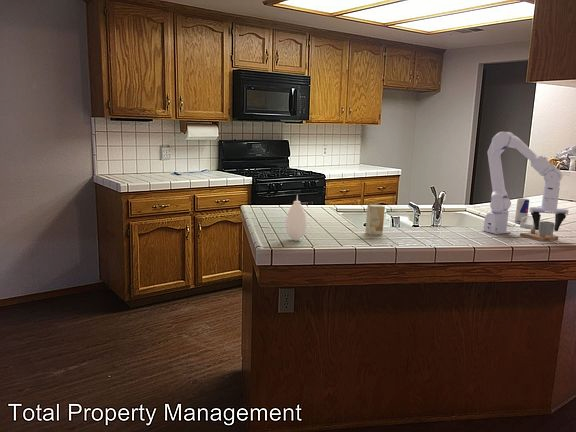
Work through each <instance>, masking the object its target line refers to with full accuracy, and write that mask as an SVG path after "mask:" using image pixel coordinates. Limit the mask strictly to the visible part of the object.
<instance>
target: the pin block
mask: <svg viewBox="0 0 576 432" xmlns="http://www.w3.org/2000/svg"><path fill="white" fill-rule="evenodd" d="M538 233H539V231H536V230H535V226H532V227H531V229H530V232H520V233H519V237H523V238H526V239H530V240H534V241H539V242H544V241H554V240H558V239H559V236H558V235H554V236H553V237H551V238H545V237H540V236H538V235H537V234H538Z"/></svg>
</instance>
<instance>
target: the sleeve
mask: <svg viewBox="0 0 576 432" xmlns="http://www.w3.org/2000/svg"><path fill="white" fill-rule="evenodd" d="M554 226H555V222H552V221H546V220H542V221H541V220H540V225H539V228H538V232H539V233H538V234H537V235H538V236H540V237H545V238H551V237H553V236H555V235H554V231H555V230H554Z"/></svg>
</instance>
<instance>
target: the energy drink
mask: <svg viewBox="0 0 576 432" xmlns="http://www.w3.org/2000/svg"><path fill="white" fill-rule="evenodd" d="M515 208H516V209H515V218H514V222H516V224H519V223H520V224H521V218H523V217H526V216H529V209H530V199H529V198H525V197H523V198H522V197H519V198H517V201H516V207H515Z"/></svg>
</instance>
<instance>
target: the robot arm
mask: <svg viewBox="0 0 576 432" xmlns="http://www.w3.org/2000/svg"><path fill="white" fill-rule="evenodd" d="M507 148H512V149H516V151H519V153H520V154H521V155H523V156H524V157H525V158H526V159H528V160H529V161H530V166H531V167H532V169H533V170H535V172H537V173H538V174H539V175H540V176H542V177H543V180H544V187H543V192H542V194H543V195H542V200H541V207H536V206H535V207H531V206H529V208H528V213H530V216H532V217H533V220H534V226H535V231H539V220H540V221H541V216H542V215H541V214H553V215H554V216H555V217H554V219H555V221H554V230H553V231H555V232H558V231H559V228H560V226H561V225H562V223H563V221H564V220H566V217H567V215H569V209H566V208H558V203H559V195H560V191H561V190H560V188H561V187H560V186H561V180H563V173H562V171H561V170H560V169H559V168H557V167H556V165H553V164H552V163H550V162H549V161H548V158H547V157H546V156H543V155H537V154H536V153H535V152H533V150H532V149H531V148H530V147H529V146H528V145H527V144H526V143H525V142H524V141H522V139H521V138H519V136H517V135H515V134H514V133H513V132H511V131H499V132H497V133H496V134H494V136H493V137H492V138H491V143H490V144H489V148H488V150H487V152H486V153H487V158H488V159H487V160H488V167H489V173H490V175H489V176H490V181H491V188H492V189H491V190H492V192H491V196H490V197H491V201H490V205H489V206H490V209H491V210H490V212H489V213H487V214H486V215H485V217H484V223H483V229H481V230H482V231H483V232H487V233H491V234H493V235H494V234H495V235H499V234H501V235H502V234H509V233H510V234H511V232H512V231H510V230H507V229H508V220H509V209H510V207H511V206H512V202H511V199H510V198H509V196H508V192H507V190H506V186H505V180H504V179H505V178H504V170H503V165H502V157H501V154H502V153H504V151H505V150H506V149H507Z"/></svg>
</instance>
